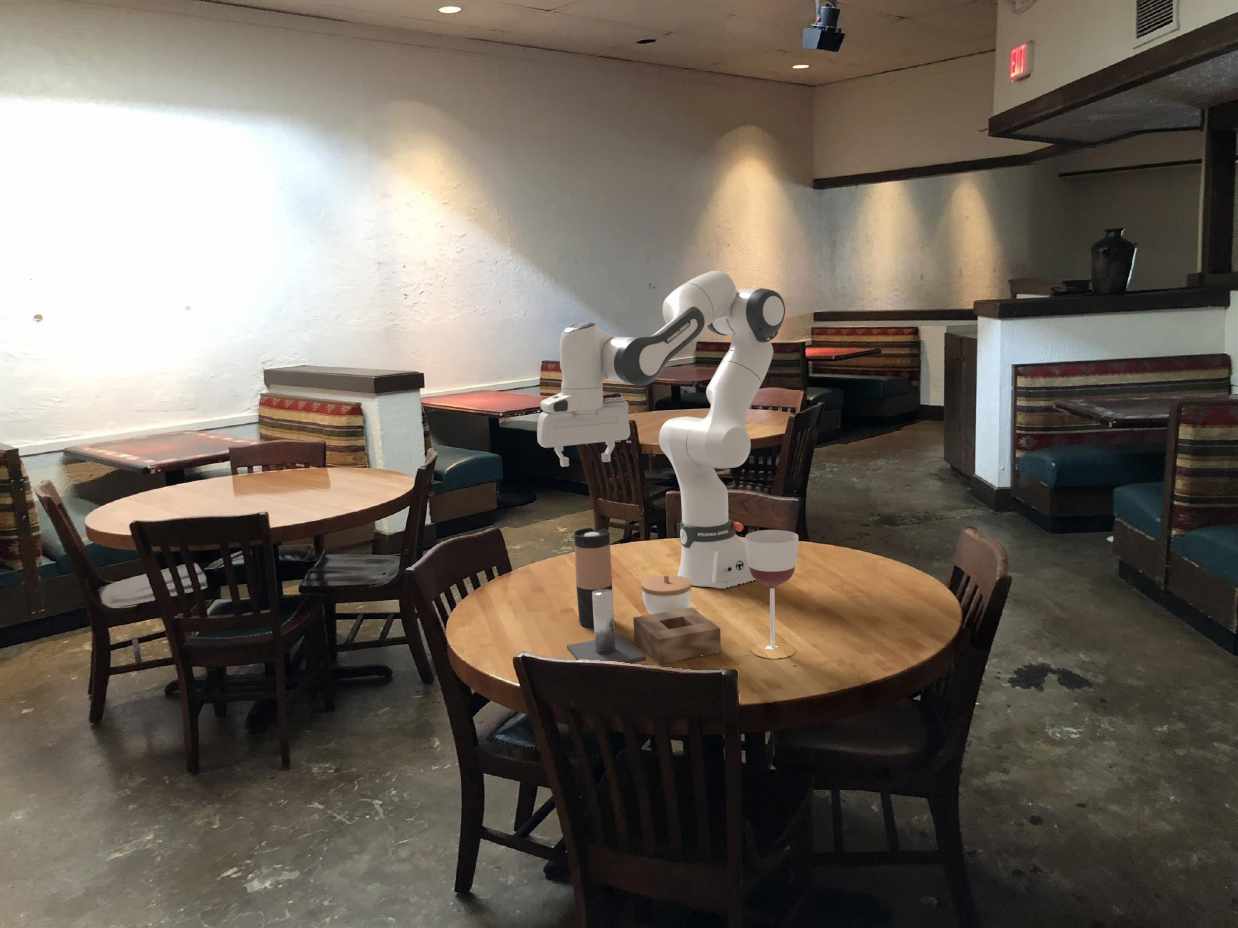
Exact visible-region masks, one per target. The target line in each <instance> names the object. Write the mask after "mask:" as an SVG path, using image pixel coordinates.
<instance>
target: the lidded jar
mask: <svg viewBox="0 0 1238 928" xmlns="http://www.w3.org/2000/svg"><path fill="white" fill-rule="evenodd" d="M692 586H693V585H692V584H691V581H690V580H689V579H687V578H685V577H681V576H677V575H674V574H673V575H672V574H663V575H656V576H651V577H648V578H646V579H644V580H643V581H642V582H641V590H642V591H641V592H642V593H641V594H642V601H643V604H644V607H645V609H646V611H647V613H648V614H649V615H651V614H657V613H662V612H668V611H674V610H680V609H686V608H690V606H691V605H690V604H691V600H692Z"/></svg>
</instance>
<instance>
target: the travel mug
mask: <svg viewBox="0 0 1238 928" xmlns="http://www.w3.org/2000/svg"><path fill="white" fill-rule="evenodd" d="M573 535H574V537H573V538H574V542H573V543H574V563H575V565H574V566H575V584H576V585H575V586H576V597H577V598H576V599H577V609H578V620H579V624H580V626H582V627H583V628H588V629H594V617H593V600H592V592H593V591H595V590H598V589H609V590H612V591H613V575H612V574H613V571H612V558H611V556H612V555H611V540H610V539H611V538H610V537H611V536H610V530H608V529H607V528H602V529H599V530H597V529H594V528H591V527H586V528H580V529H578V530H575V532H574V534H573Z"/></svg>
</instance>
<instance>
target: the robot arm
mask: <svg viewBox="0 0 1238 928" xmlns="http://www.w3.org/2000/svg"><path fill="white" fill-rule="evenodd" d="M662 303H663V304H662V317H663V320H664V322H665V325H664V326H662V327H660V329H659V330H657V331H656V332H655V333H654V334H652V335H650V336H637V337H631V336H630V337H629V336H616V335H614V334H612V333H608V332H606V331H605V330H602V328H600V327H599V326H597V324H596V323H594V322H581V323H575V324H572V325H570V326H567V327H565V328H564V329H563V330H562V332H561V334H560V335H561V336H560V340H559V367H560V371H561V374H562V378H561V379H562V380H561V384H560V385H561V386H560V390H561V391H560V392H559V393H557V394H554V395H552V396H549V397H547V398H544V399H542V400H541V401H540V405H539V406H540V409H541V410H542V412H540V414H539V415H538V419H537V428H536V433H537V434H536V436H537V437H536V438H537V443H538V444H539V445H540V446H541V447H543V448H547V449H549V448H554V449H553V450H554V452H555V453H556V455H557V456H558V458H559V463H560V466H561V467H563V468H564V467H569V466H570V463H569V462H570V458H569V457H567V456H564V454H563V452H564V447H567V446H576V445H585V444H594V443H597V444H598V443H605V445H607V447H606V449H605V451H604V452H602V453H600V454H601V461H602V462H603V463H609V462H611V454H612V452H613V451H614V448H615V447H616V441H624V440H629V439H628V438H629V437H630V436H631V428H630V427H631V426H630V422H629V416H628V415H629V411H630V410H629V409H630V408H629V407H630V406H629V402H628V401H627V400H626V399H624V398H622V397H621V396H616V397H604V390H603V388H604V387H603V381H604V380H605V381H610V382H615V383H616V382H618V383H625V384H626V383H627V384H629V385H635V386H639V387H642V386H647V385H649V384H650V385H651V383H653V382H654V381H655V380H656V379H658V377H659V376H660V374H661V373H662V370H663V369H664V368H665V367H666V365H667V363H668V362H669V361H670V360H671V359H673V358H674V357H675V356H676V355H677V354H679V353H680V352H681V351H682V350H684V348H686V347H687V346H688V345H689V344H690V343H691V342H692V341H693V340H694V339H696V338H697V337H698V336H699V335H700V334H701V332H702V331H703V329H705V328H707V329H708V330H709V331H710V332H712V333H714V334H716V335H720V336H731V342H730V345H729V349H728V351H727V352H726V354H725V355H724V356H723V358H722V360H721V361H720V364H719V365H718V367H717V369H716V370H715V373H714V375H713V376H712V378H711V379H710V382H709V384H708V385H707V387H706V389H705V390H706V391H705V393H706V394H705V395H706V398H707V400H708V402H709V404H710V408H709V411H708V413H707V415H706V416H705V417H703V418H702V417H696V416H687V415H686V416H678V417H674V418H673V417H672V418H670V419H667V420H666V421H665V422H664V423H663V424H662V426H661V428H660V430H659V433H658V443H659V447H660V450H661V451H662V453H664V454H665V455H666V457H667V458H668V460H669V462H670V463H671V465H672V467H673V470H674V472H675V475H676V479H677V483H678V486H679V490H680V499H681V521H680V533H679V534H680V535H679V536H680V543H681V555H680V561H679V568H678V572H677V574H676V576H681V577H685V578H687V579H689V580H690V581H691V584H692V586H694V587H695V586H696V587H703V588H704V587H709V588H714V589H722V590H723V589H728V588H732V587H735V586H739V585H738V584H740V585H743V583H744V584H747V582H748V583H750V582H749V581H752V582H754V581H753V580H755V581H757V580H756V579H755V578H753V576H752V575H751V572H750V569H749V564H748V560H747V554H746V543H745V539H743V538H742V537H741V536H739V535H737V534H736V532H737V533H738V532H740V533H741V532H742V531H743V530H744V525H743V524H742V523H740V522H738V521H733V520H731V519H729V493H728V492H729V491H728V489H727V487H726V485H725V483H724V482H723V481H722V480H721V479H720V478H719V476H718V474H717V472H716V470H715V469H730V468H731V469H732V468H738V467H740V466H742V465H743V464H744V463H745V462H746V461H747V459H748V458H749V455H750V453H751V447H752V446H751V445H752V444H751V437H750V435H749V433H748V431H747V429H746V422H747V421H746V419H747V415H748V411H749V409H750V407H751V405H752V403H753V401H754V399H755V397H756V396H757V393H758V391H759V389H760V387H761V385H762V384H763V382H764V379H765V377H766V376H767V373H768V371H769V367H770V365H771V363H772V358H773V355H774V348H773V345H772V342H771V341H772V340H774V338H776V336H777V335H778V333H779V330H780V329H781V327H782V324H783V323H784V319H785V316H786V305H785V302H784V299H783V297H782V296H781V294H780V293H778V292H777V291H775V290H773V289H770V288H765V287H762V288H740V289H737V288H736V284H735V282H734V280H733V279H732V277H731V276H730V275H728V274H727V272H724V271H721V270H712V271H708V272H705V273H703V274H700V275H697V276H695V277H694V278H691V279H689V280H688V281H686V282H685V283H683V284H682V285H680V286H678V287H677V288H675V289H674V290H673V291H671V292H670V293H669V295H668V296H666V298H665V299H664V301H663V302H662ZM731 586H732V587H731ZM727 587H728V588H727Z"/></svg>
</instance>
